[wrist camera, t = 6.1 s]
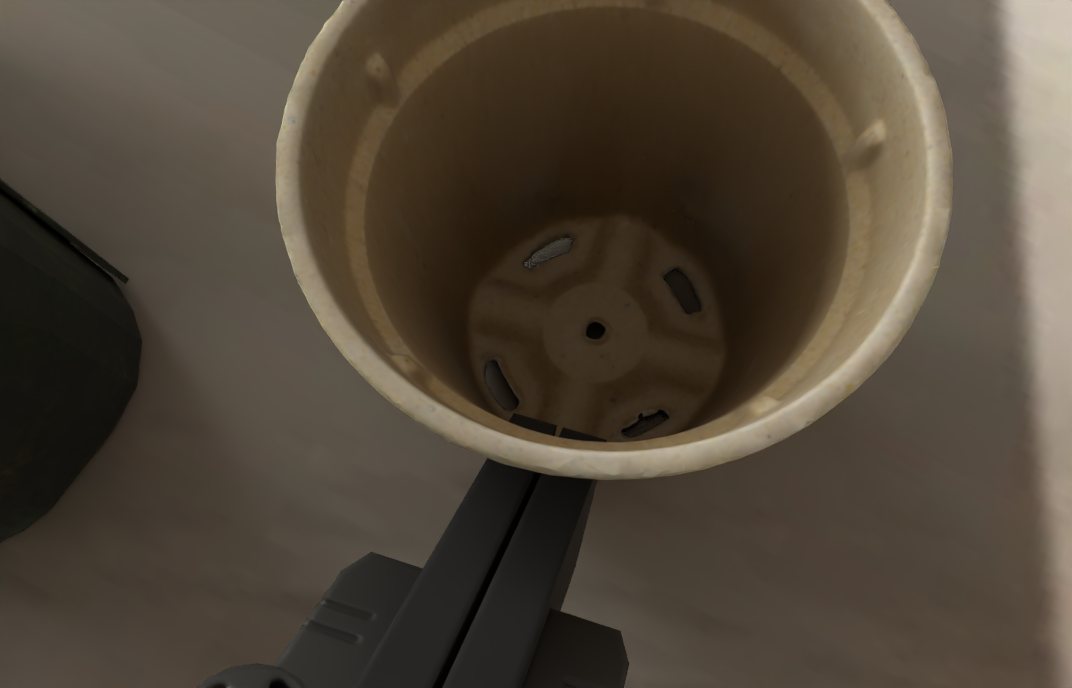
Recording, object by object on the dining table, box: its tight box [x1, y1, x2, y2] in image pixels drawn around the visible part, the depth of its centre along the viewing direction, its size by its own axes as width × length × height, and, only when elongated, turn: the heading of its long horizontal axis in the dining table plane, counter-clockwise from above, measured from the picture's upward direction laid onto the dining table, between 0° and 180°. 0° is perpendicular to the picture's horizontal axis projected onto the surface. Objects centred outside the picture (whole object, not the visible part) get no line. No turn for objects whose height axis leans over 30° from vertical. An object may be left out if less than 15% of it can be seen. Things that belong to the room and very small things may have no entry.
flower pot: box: [276, 0, 954, 480], centre depth 16 cm, size 9×9×9 cm
